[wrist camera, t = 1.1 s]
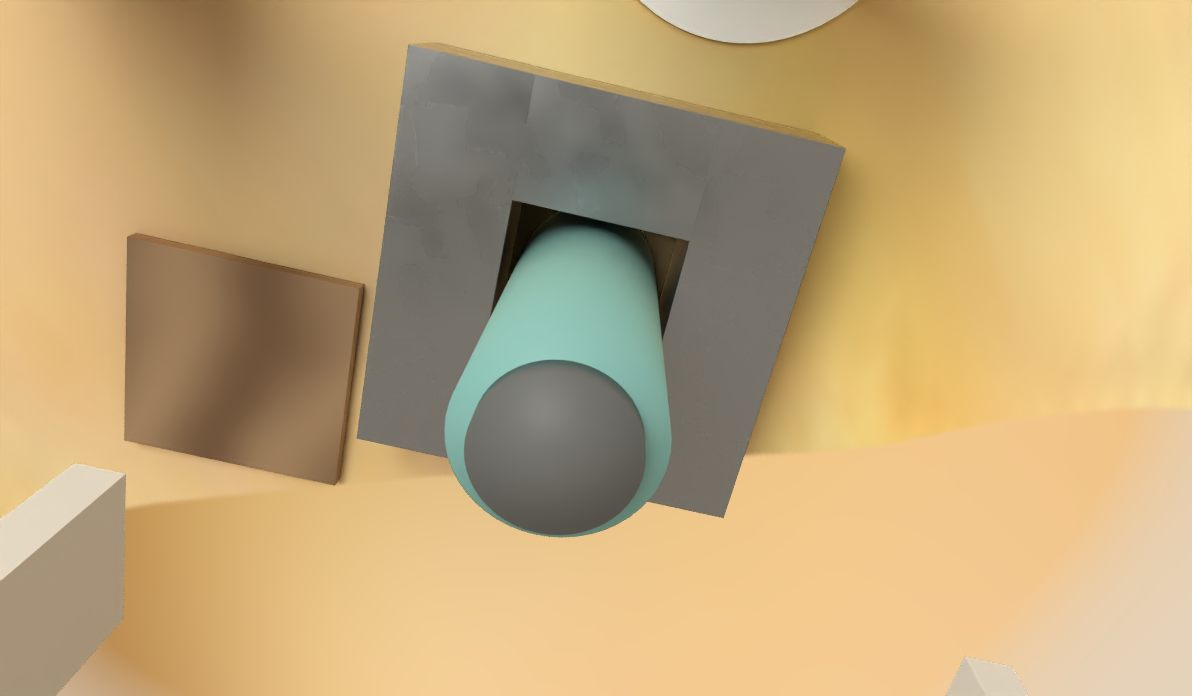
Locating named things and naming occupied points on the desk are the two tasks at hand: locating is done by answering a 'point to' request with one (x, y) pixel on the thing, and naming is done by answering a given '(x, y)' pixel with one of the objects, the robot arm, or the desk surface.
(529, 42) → the desk surface
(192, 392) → the pad
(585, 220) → the teal cylinder
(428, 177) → the housing
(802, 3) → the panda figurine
